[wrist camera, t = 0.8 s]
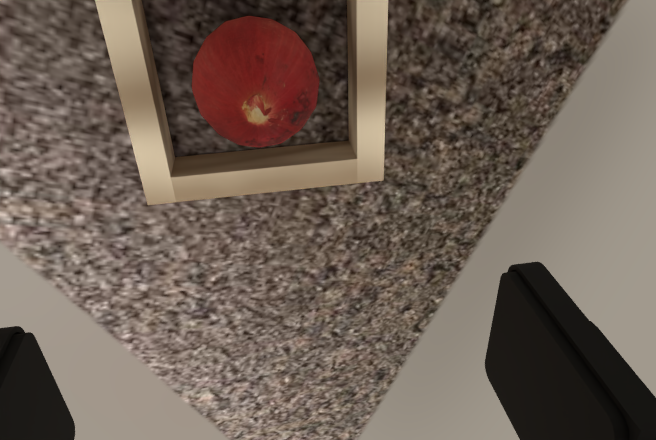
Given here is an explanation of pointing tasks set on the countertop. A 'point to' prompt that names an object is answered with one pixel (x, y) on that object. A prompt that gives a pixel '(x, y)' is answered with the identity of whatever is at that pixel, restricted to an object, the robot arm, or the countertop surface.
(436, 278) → the countertop surface
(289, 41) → the onion
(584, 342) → the robot arm
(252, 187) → the frame
